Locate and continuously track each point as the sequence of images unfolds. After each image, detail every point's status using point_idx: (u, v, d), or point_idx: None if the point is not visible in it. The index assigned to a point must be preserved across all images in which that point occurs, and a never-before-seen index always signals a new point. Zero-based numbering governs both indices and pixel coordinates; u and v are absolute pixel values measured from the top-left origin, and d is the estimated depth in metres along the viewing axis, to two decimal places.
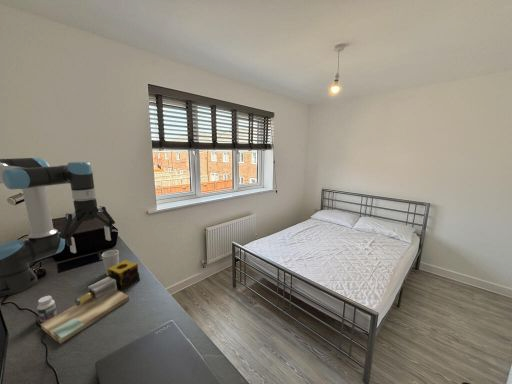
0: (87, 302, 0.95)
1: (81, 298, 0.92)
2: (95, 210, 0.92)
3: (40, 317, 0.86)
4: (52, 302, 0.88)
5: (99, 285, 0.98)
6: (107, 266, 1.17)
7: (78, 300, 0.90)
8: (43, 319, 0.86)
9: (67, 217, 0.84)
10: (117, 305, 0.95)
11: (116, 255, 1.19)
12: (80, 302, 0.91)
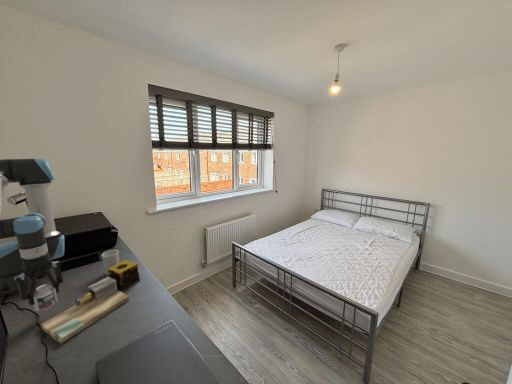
0: (87, 302, 0.95)
1: (81, 298, 0.92)
2: (48, 264, 0.86)
3: None
4: (50, 291, 0.88)
5: (99, 285, 0.98)
6: (107, 266, 1.17)
7: (78, 300, 0.90)
8: (41, 308, 0.86)
9: (16, 281, 0.79)
10: (117, 305, 0.95)
11: (116, 255, 1.19)
12: (80, 302, 0.91)
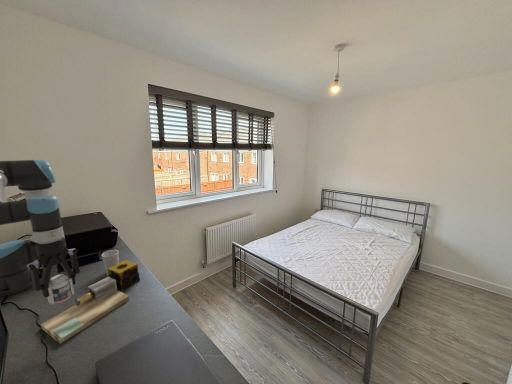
0: (87, 302, 0.95)
1: (81, 298, 0.92)
2: (64, 251, 0.77)
3: None
4: (66, 281, 0.78)
5: (99, 285, 0.98)
6: (107, 266, 1.17)
7: (78, 300, 0.90)
8: (56, 300, 0.76)
9: (29, 268, 0.70)
10: (117, 305, 0.95)
11: (116, 255, 1.19)
12: (80, 302, 0.91)
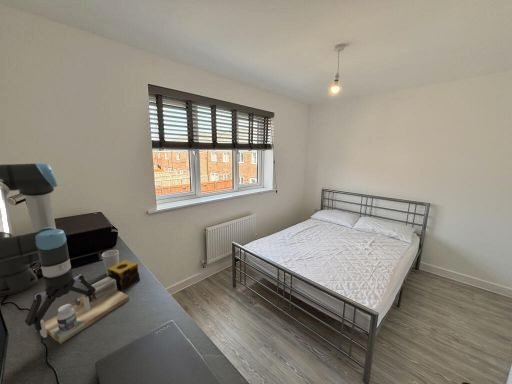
0: None
1: (81, 298, 0.92)
2: (71, 282, 0.80)
3: (60, 328, 0.78)
4: (72, 311, 0.81)
5: (99, 285, 0.98)
6: (107, 266, 1.17)
7: (78, 300, 0.90)
8: (63, 330, 0.79)
9: (35, 298, 0.71)
10: (117, 305, 0.95)
11: (116, 255, 1.19)
12: (80, 302, 0.91)
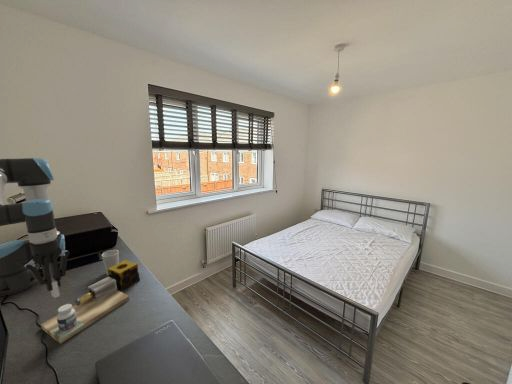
0: (87, 302, 0.95)
1: (81, 298, 0.92)
2: (58, 251, 0.82)
3: (60, 328, 0.78)
4: (72, 311, 0.81)
5: (99, 285, 0.98)
6: (107, 266, 1.17)
7: (78, 300, 0.90)
8: (63, 330, 0.79)
9: (28, 268, 0.76)
10: (117, 305, 0.95)
11: (116, 255, 1.19)
12: (80, 302, 0.91)
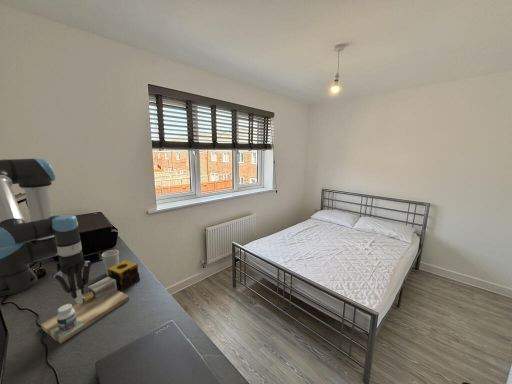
0: (87, 302, 0.95)
1: (85, 296, 0.93)
2: (82, 262, 0.90)
3: (60, 328, 0.78)
4: (72, 311, 0.81)
5: (99, 285, 0.98)
6: (107, 266, 1.17)
7: (82, 298, 0.92)
8: (63, 330, 0.79)
9: (56, 278, 0.83)
10: (117, 305, 0.95)
11: (116, 255, 1.19)
12: (84, 300, 0.92)
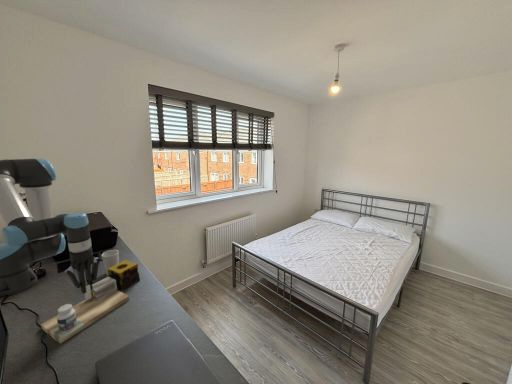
0: (87, 302, 0.95)
1: None
2: (91, 258, 0.93)
3: (60, 328, 0.78)
4: (72, 311, 0.81)
5: (99, 285, 0.98)
6: (107, 266, 1.17)
7: (91, 293, 0.95)
8: (63, 330, 0.79)
9: None
10: (117, 305, 0.95)
11: (116, 255, 1.19)
12: (93, 295, 0.95)
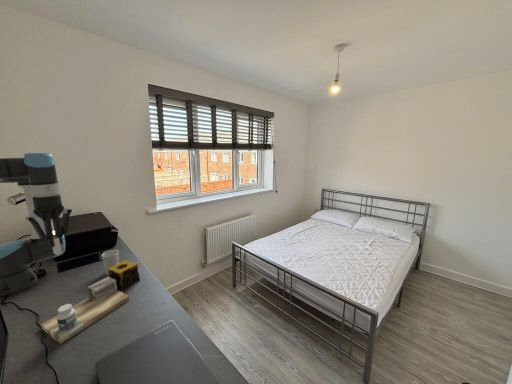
0: (87, 302, 0.95)
1: None
2: (60, 207, 0.82)
3: (60, 328, 0.78)
4: (72, 311, 0.81)
5: (99, 285, 0.98)
6: (107, 266, 1.17)
7: (91, 293, 0.95)
8: (63, 330, 0.79)
9: (30, 221, 0.75)
10: (117, 305, 0.95)
11: (116, 255, 1.19)
12: (93, 295, 0.95)
